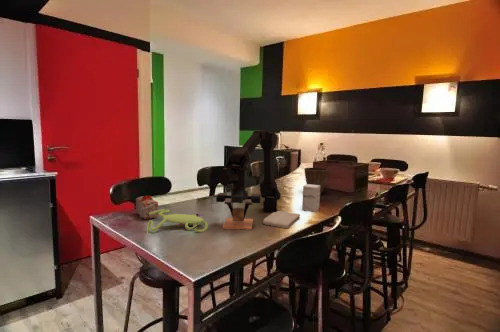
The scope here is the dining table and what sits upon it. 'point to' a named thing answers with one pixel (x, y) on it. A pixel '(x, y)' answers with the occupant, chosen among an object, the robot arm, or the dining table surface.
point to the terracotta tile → (238, 224)
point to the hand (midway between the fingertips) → (238, 217)
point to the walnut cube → (238, 214)
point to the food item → (146, 207)
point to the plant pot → (316, 176)
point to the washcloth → (281, 219)
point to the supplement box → (311, 197)
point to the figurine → (178, 220)
